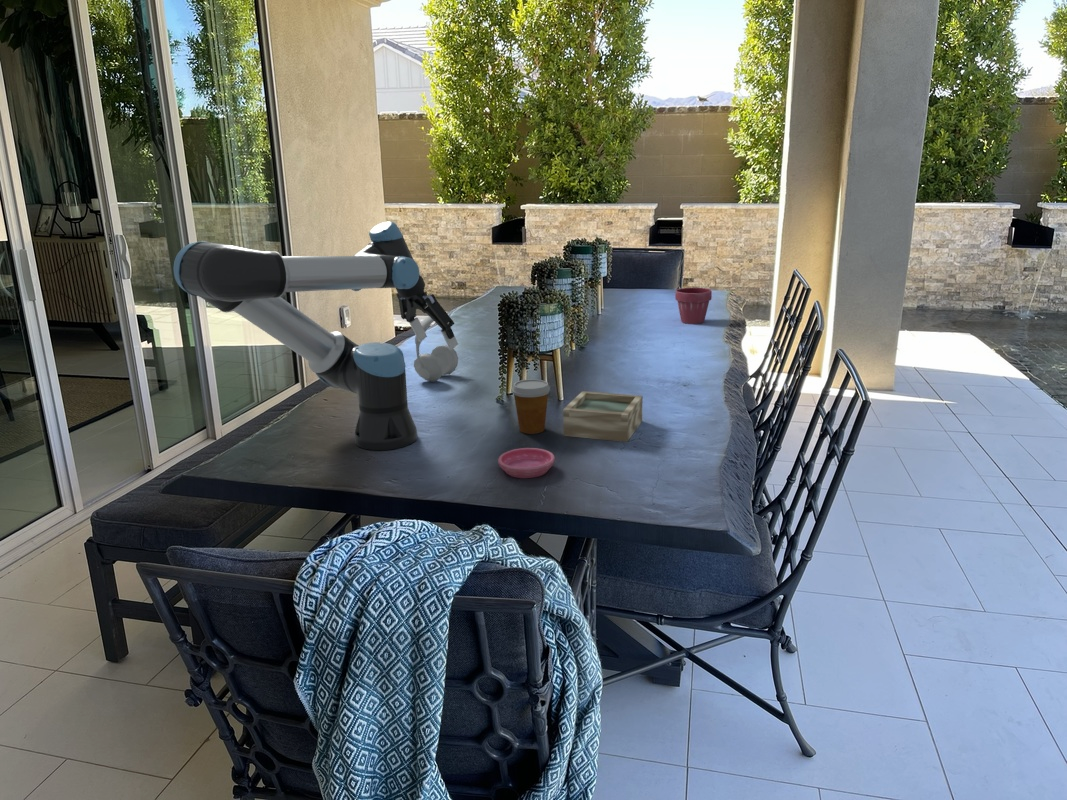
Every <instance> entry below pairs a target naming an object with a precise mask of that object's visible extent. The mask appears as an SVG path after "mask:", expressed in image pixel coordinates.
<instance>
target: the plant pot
mask: <svg viewBox="0 0 1067 800" xmlns="http://www.w3.org/2000/svg"><path fill="white" fill-rule="evenodd" d="M712 292H713V291H712V289H710V288H706V287H682V288H678V289H676V290H675V293H674V294H675V295H674V296H675V297H674V298H675V301H677V305H678V306H677V307H678V313H679V317H680V322H681V323H683V324H688V325H698V324H699V325H700V324H703V323H705V321H706V316H707V314H708V313H707V312H708V308H709V303H710V301H711V300H712V298H713V297H712V294H713V293H712Z"/></svg>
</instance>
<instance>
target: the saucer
mask: <svg viewBox="0 0 1067 800" xmlns="http://www.w3.org/2000/svg"><path fill="white" fill-rule="evenodd" d="M555 460H556V457H555V455H554V453H553V452H552V451H549V450H547V449H543V448H537V447H522V448H514V449H511V450H508V451H506V452H503V453H502V454H500V456H499V457H498V459H497V462H498V466H499V467H500V468H501V469H502V470H503V472H505V473H506V474H507V475H509V476H510V477H513V478H519V479H530V478H531V479H532V478H537V477H541V476H543V475H545V474H546V473H547V472H549V470H550V469H551V468H552V467H553V465H554V464H555V462H556V461H555Z"/></svg>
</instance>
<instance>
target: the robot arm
mask: <svg viewBox="0 0 1067 800" xmlns="http://www.w3.org/2000/svg"><path fill="white" fill-rule="evenodd" d="M368 236H369V240H370V242H369V243H368V244H367V245H366V246H365V247H363V248H362V249H361V250H359V251H358V252H357V253H355V254H354V255H350V256H349V255H302V256H301V255H295V256H294V255H290V256H289V255H287V256H286V255H284V256H283V255H281V254H280V253H279V252H278V251H276V250H274V251H271V250H270V251H269V250H265V251H264V250H259V249H251V248H245V247H241V246H237V245H232V244H224V243H215V242H213V243H212V242H210V241H206V240H205V241H204V240H203V241H202V240H199V241H194V242H191V243H189V244H187V245H184V246H183V247H182V248H181V249H180V250H179V252H178V253H177V254H176V256H175V259H174V261H173V262H174V263H173V276H174V279H175V282H176V283H177V285H178V286H179V287H180V288H181V289H182V290H183V291H184V292H185V293H186V294H189V295H190V296H194V297H199V298H201V299H203V300H204V301H206V302H207V303H209V304H210V305H212V306H213V307H214V308H216V309H218V310H220V311H221V312H223V313H225V314H226V313H231V312H235V313H237V314H238V315H239V316H241V317H242V318H244V319H245V320H247V321H248V322H249V323H251V324H252V325H254V326H256V327H257V328H258V329H260V330H262V332H265V333H266V334H267V335H269V336H270V337H272V338H273V339H275V340H277V341H278V342H279V343H281V344H283V345H284V346H285V347H287V348H288V349H290V350H292V351H293V352H294V353H296V354H297V355H298V356H300V357H301V358H303V359H305V360H306V361H308V367H309V369H310V371H312V372H313V373H315V375H316V377H317V378H318V379H319V380H320V381H322V383H324V384H325V385H327V386H329V387H331V388H334V389H340V390H343V391H347V392H351V393H354V394H357V399H358V400H357V401H358V407H359V409H358V411H359V413H358V417H357V422H356V426H355V429H354V430H355V431H354V443H355V445H356V446H357V447H359V448H361V449H364V450H369V451H386V450H387V451H388V450H396V449H400V448H403V447H407V446H409V445H411V444H413V443H415V442H416V441H417V439H418V429H417V427H416V424H415V421H414V419H413V417H412V414H411V412H410V410H409V406H408V405H409V404H408V392H407V391H408V390H407V377H406V363H405V357H404V356H405V355H404V353H403V351H402V350H401V348H399V347H398V346H396V345H394V344H391V343H388V342H373V341H372V342H366V343H362V344H360V345H359V344H357V343H355V342H354V341H352V340H351V339H349V337H347V336H345V335H344V333H341V332H340V331H335V330H334V331H330V332H329V331H328V330H327V329H325V328H324V327H323V326H322V325H320V324H318V323H317V322H316V321H314V320H313V319H312V318H310V317H309V316H307V315H306V313H305V314H304V313H303V312H302V311H300V310H299V309H298V308H297V307H295V306H294V305H292V304H291V303H289V302H288V301H287V300H286V299H284V298H283V297H282V296H283V295H284V293H294V292H295V293H296V292H300V293H301V292H318V291H320V292H321V291H344V290H351V291H354V292H359V291H361V290H363V289H364V290H365V289H367V290H368V289H395V290H396V291H397V293H395V294H396V297H397V300H398V304H399V310H400V317H401V319H402V320H406V322H407V323H409V325H410V326H411V329H412V330H413V331H412V332H413V333H414V334H415V336H416V337H417V339H418V341H419V342H421V341H422V342H423V341H424V340H425V339H426V338H427V337H428V335H427V333H426V332H425V331H424V329H423V327H422V325H421V321H420V319H419V317H417V316H418V315H417V310H419V311H421V312H422V313H424V314H427V316H428V317H429V316H430V317H431V318H432V319H433V320H434V321H433V322H434V323H436V325H437V326H438V327H439V328H441V330H440V332H441V334H442V336H443V338H444V340H445V342H446V345H447V346H448V347H449V349H450V350H452V349H454V348H456V347H457V346H458V345H459V343H458V340H457V339H456V336H455V334H454V331H453V329H452V327H453V326H454V325H455V322H454V320H453V319H452V318H451V316H450V315H449V314H448V313H447V311H446V310H445V309H444V308H443V306H442V305H441V303H440V302H439V301H438V300H437V298H436V295H434V294H433V293H431V294H430V295H427V294H426V291H425V287H426V282H425V280H424V277H422V274H421V273H420V268H419V265H418V263H417V262H416V261H415V259H414V258H413V256H412V253H411V251H410V249H409V247H408V245H407V242H406V240H405V238H404V235H403V233H402V231H401V230H400V228H399V226H398V225H397V224H396V223H395V221H388V220H387V221H383V222H380V223H378V224H377V225H374V226H373V227H372V228H371V230H370V231H369V233H368ZM422 342H421V343H422Z"/></svg>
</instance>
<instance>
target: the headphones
mask: <svg viewBox="0 0 1067 800" xmlns="http://www.w3.org/2000/svg"><path fill="white" fill-rule="evenodd" d="M434 322H435V321H434V320H433V319H432V318H431V317H430V316H429V315H428V316H426V317H425V318H423V320H422V321H420V323H421V325H422V327H423V329H424V331H425V333H426V332H427V330H428V328H429V327H430V326H431V325H432V324H433V323H434ZM422 342H423V340H422V341H421V342H419V341H418V339H417V337H416V335H415V338H414V343H415V351H416V359H415V360H414V361H413V367H414V371H415V372H416V374H418V376H419V377H420V378H422V379H424V380H425V381H428V382H431V383H433V382H437V381H439V380H440V379H441V377H442V376H446V375H451V374H452V373H453V372H454V371H456V370H457V367H458V363H459V355H458V353H457V351H456V350H455V349H454V348H453V349H452V350H450V349H449V347H448V345H447V344H445V345H444V344H443V345H437V346H436V347H435V348H433V349H432V351H431V352H430V353H427V352H426V353H421V354H420V346H421V343H422Z"/></svg>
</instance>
